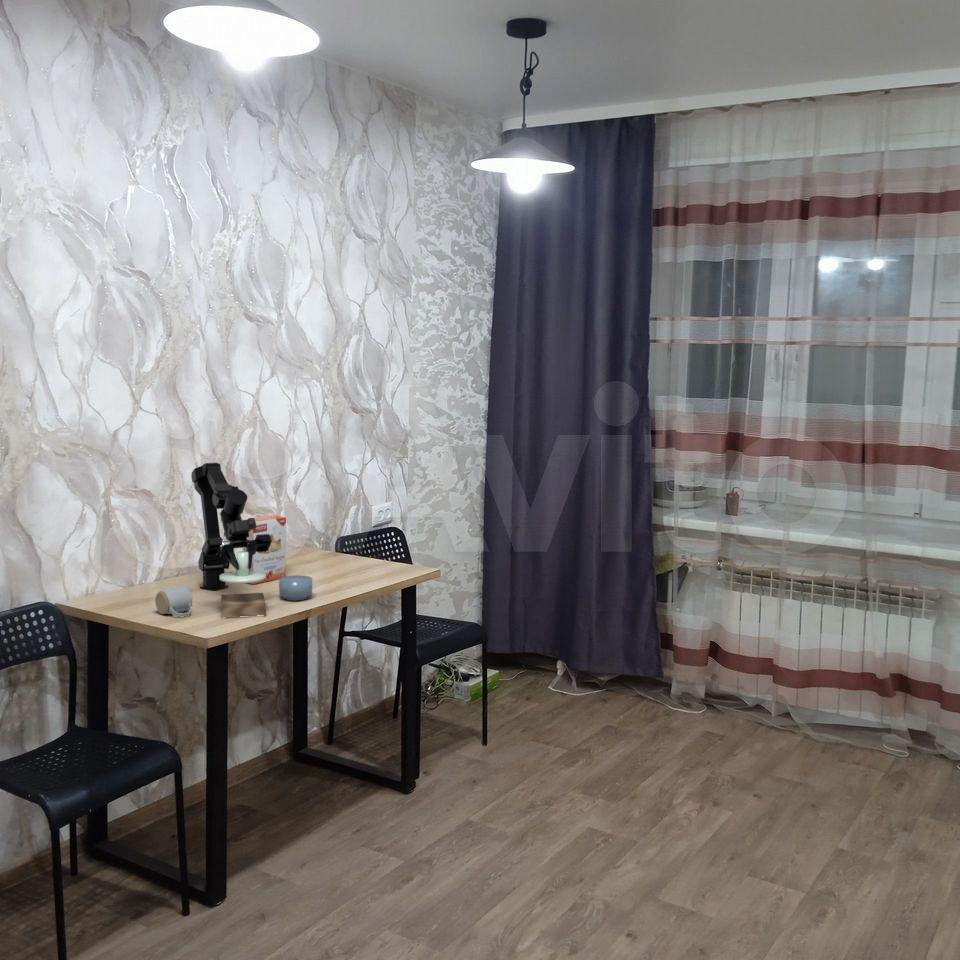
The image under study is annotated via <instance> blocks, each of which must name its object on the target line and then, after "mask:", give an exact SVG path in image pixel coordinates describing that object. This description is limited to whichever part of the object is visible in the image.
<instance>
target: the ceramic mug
mask: <svg viewBox="0 0 960 960" xmlns="http://www.w3.org/2000/svg"><path fill="white" fill-rule="evenodd" d="M154 600H155V601H154V603H155V607H156V609H157V611H158V612H159V613H160V614H161V615H163V614H170V615H173V616H174V617H176V618H181V616H188V615H189V616H191V614H192V610H193V608H192V606H193V596H192V593H191V590H190V589H189V587H188V586H187V585H186V584H179V585H176V586H172V587H169V588H165V589H162V590H160V591H158V592H157V593H156V595H155V599H154ZM184 611H185V612H184ZM178 612H179V613H178ZM189 616H188V617H189Z"/></svg>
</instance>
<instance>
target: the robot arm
mask: <svg viewBox="0 0 960 960" xmlns="http://www.w3.org/2000/svg"><path fill="white" fill-rule="evenodd" d="M190 475H191V476H190V477H191V482H192V483H193V488H194V490H195V491H196V492H197V493H198V495H199V496H200V501H201V510H202V511H201V512H202V518H203V519H202V520H203V526H204V527H203V528H204V536H205V537H204V538H205V541H204V543H203V545H202V547H201V552H200V555H199V558H198V562H197V563H198V569H199V570H200V571H201V572H202V577H203V578H202V584H203V585H200V586H199V588H200V589H202V588H204V589H203V590H208V589H209V591H217V589H218V590H221V588H222V589H225V587H226V588H228V587H229V585H228V584H226V582H223V581H221V580H220V575H221V574H223V573H226V572H225V570H229V569H230V565H231V566H232V567H233V568H234V569H235V571H237V570H239V566H238V562H237V555H236V552H235V549H243V548H246V552H248V566H249V569H251V565H252V557H253V555H254V554H255V553H256V552H266V551H268V550H269V547H270V544H271V542H272V539H271V536H270V535H269V534H259V535H256V538H255V540H247V537H249V531H251V530H254V529H255V528H256V522H255V518H256V517H248V518H246V519H247V520H246V519H242V514H243V513H244V510H245V508H246V504H247V501H248V495H247V493H246V491H243V490H242V489H239V486H234V485H231V484H229V482H228V480H227V479H226V476H225V475H224V473H223V471H222V466H221V463H219V462H205V463H203V464H202V465H199V466H197V467H196V468H194V469H192V471H191V474H190ZM218 510H221V511H220V512H219V514H218ZM219 515H220V521H221V523H222V527H223V531H224V532H223V536H224V537H225V539H223V538H222V537H221V531H220V522H219Z"/></svg>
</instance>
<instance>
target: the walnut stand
mask: <svg viewBox="0 0 960 960" xmlns="http://www.w3.org/2000/svg"><path fill="white" fill-rule="evenodd" d="M220 598H221V599H220V601H221V603H220V604H221V605H220V607H221V609H220V610H221V618H222V617H240V616H257V615H266V616H267V614H266V610H267V609H266V605H267V604H266V599H265V596H264V592H252V593H251V592H250V593H249V592H248V593H230V594H221V596H220Z"/></svg>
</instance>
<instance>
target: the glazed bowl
mask: <svg viewBox="0 0 960 960" xmlns="http://www.w3.org/2000/svg"><path fill="white" fill-rule="evenodd" d="M278 594H279V596H281V597H283V599H284V598H285V599H287V600H286V601H288V600H302V601H305V600H304V599H306V600H307V599H308V596H311V595H313V578H312V577H311V576H306V575H301V574H300V575H298V574H297V575H296V574H295V575H287V576H286V575H285V577H282V578H280V579H278ZM285 599H284V600H285Z"/></svg>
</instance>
